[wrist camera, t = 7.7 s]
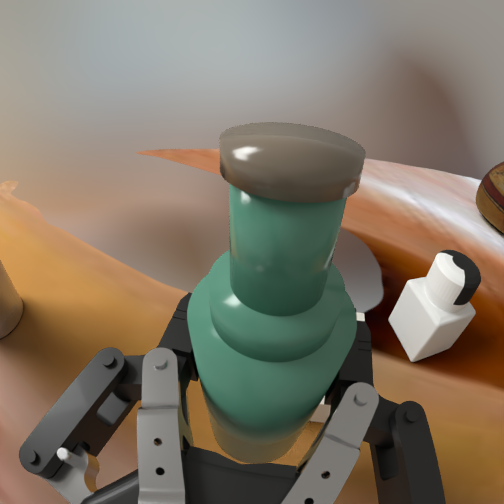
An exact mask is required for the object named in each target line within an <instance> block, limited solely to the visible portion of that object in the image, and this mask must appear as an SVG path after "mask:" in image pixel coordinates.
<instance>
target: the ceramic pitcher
mask: <svg viewBox="0 0 504 504" xmlns="http://www.w3.org/2000/svg"><path fill="white" fill-rule="evenodd" d="M476 205H477V207H478V209H479V211H480V212H481V213H482V215H483V216H484V217H485V218H486V219H487V220H488V221H489V222H490V223H491V224H492V225H494V226H495V227H496V228H497V229H499V230H500V231H501V232H502V233H503V234H504V162H502V163H500V164H498V165H496V166H495V167H494V168H492V169H491V170H490V171H489V172H488V173H487V174H486V175H485V177H484V178H483V180H482V181H481V183H480V185H479V188H478V191H477V195H476Z"/></svg>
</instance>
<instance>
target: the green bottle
mask: <svg viewBox="0 0 504 504" xmlns="http://www.w3.org/2000/svg"><path fill="white" fill-rule="evenodd" d="M364 159H365V150H364V149H363V147H361V145H359V144H358V143H357V142H355V141H353V140H352V139H350V138H348V137H346V136H343V135H341V134H338V133H335V132H332V131H329V130H325V129H321V128H317V127H313V126H307V125H301V124H292V123H276V122H275V123H274V122H267V123H251V124H245V125H239V126H236V127H232V128H230V129H228V130H226V131H224V132H223V133H222V134H221V135H220V173H221V175H222V177H223V178H224V179H225V180H226V181H227V182H228V183H229V231H230V232H229V240H230V241H229V242H230V250H228V251H227V252H226V253H224V254H223V255H221V256H220V257H219V258H218V259H217V261H216V262H215V263H214V265H213V266H212V268H211V270H210V273H209V274H207V275H206V276H205V278H203V279H202V280H201V281H200V283H199V284H198V285H197V286H196V288H195V290H194V291H193V293H192V295H191V298H190V300H189V304H188V309H187V321H188V327H189V332H190V337H191V342H192V347H193V352H194V356H195V361H196V365H197V370H198V374H199V378H200V382H201V387H202V391H203V395H204V399H205V403H206V407H207V410H208V414H209V418H210V422H211V425H212V429H213V433H214V436H215V439H216V441H217V443H218V444H219V446H220V447H221V448H222V450H224V451H225V452H226V453H227V454H228V455H229V456H231V457H233V458H235V459H237V460H239V461H242V462H246V463H252V464H260V463H267V462H271V461H273V460H276V459H278V458H280V457H282V456H283V455H284V454H286V453H287V452H288V451H289V450H290V449H291V447H292V446H293V445H294V443H295V442H296V440H297V439H298V437H299V436H300V434H301V433H302V431H303V430H304V428H305V427H306V425H307V423H308V422H309V420H310V419H311V417H312V416H313V414H314V412H315V411H316V409H317V407H318V406H319V404H320V403H321V401H322V399H323V397H324V396H325V394H326V392H327V391H328V389H329V387H330V385H331V384H332V382H333V380H334V378H335V377H336V375H337V373H338V371H339V369H340V367H341V366H342V364H343V362H344V360H345V358H346V356H347V354H348V352H349V350H350V348H351V346H352V344H353V341H354V339H355V335H356V330H357V318H356V312H355V308H354V305H353V303H352V301H351V299H350V297H349V295H348V294H347V292H346V291H345V285H344V281H343V278H342V276H341V274H340V272H339V271H338V269H337V268H336V267H335V265H334V264H333V263H332V259H333V255H334V251H335V247H336V243H337V239H338V235H339V230H340V226H341V222H342V218H343V213H344V209H345V204H346V199H347V197H349V196H350V195H352V194H354V193H355V192H356V191H357V189H358V188H359V183H360V179H361V174H362V169H363V164H364Z"/></svg>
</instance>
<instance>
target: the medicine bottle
mask: <svg viewBox="0 0 504 504" xmlns="http://www.w3.org/2000/svg"><path fill="white" fill-rule="evenodd" d="M480 282H481V276H480V272H479V269H478V268H477V266H476V265H475V263H474V262H473V261H472V260H471V259H469V258H468V257H467V256H465V255H464V254H462V253H459V252H457V251H453V250H444V251H441V252H439V253H438V254H437V255H436V258H435V260H434V262H433V264H432V266H431V268H430V270H429V272H428V274H427V277H423V278H418V279H412V280H408V281H407V283H406V285H405V287H404V289H403V291H402V293H401V295H400V298H399V300H398V302H397V303H396V305H395V307H394V309H393V311H392V313H391V315H390V317H389V322H390V324H391V326H392V327H393V329H394V331H395V333H396V335H397V336H398V338H399V340H400V342H401V344H402V346H403V348H404V349H405V351H406V353H407V355H408V357H409V359H410V361H411V362H415V361H418V360H420V359H423V358H426V357H429V356H431V355H434V354H436V353H439V352H442V351H444V350H447V349H449V348H450V347H451V346H452V345H453V344H454V342H455V341H456V340H457V338H458V337H459V336H460V334H461V333H462V332H463V330H464V329H465V328H466V326H467V325H468V324H469V322H470V321H471V320H472V318H473V317H474V315H475V313H476V312H475V310H474V308H473V307H472V306H471V304H470V303H469V301H470V299H471V298H472V296H473V294H474V293H475V291H476V289H477V288H478V286H479V284H480Z"/></svg>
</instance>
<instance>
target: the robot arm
mask: <svg viewBox="0 0 504 504" xmlns="http://www.w3.org/2000/svg"><path fill="white" fill-rule="evenodd" d="M191 295H192V293H188V294H187V295H186V296H185V297H183V298H182V299H181V300H180V302H179V304H178V306H177V308H176V311H175V312H174V314H173V316H172V318H171V320H170V322H169V324H168V326H167V328H166V331H165V333H164V335H163V337H162V339H161V341H160V343H159V345H158V346H157V348H155V349H152V350H151V351H149V352H148V353H147V354H146V355H141V356H123V354H122V352H121V351H120V350H118V349H116V348H105V349H102V350H101V351H99V352H98V353H97V354H96V355H95V357H94V358H93V359H92V360H91V361H90V362H89V364H88V365H87V366H86V367H85V368H84V369H83V371H82V372H81V373H80V374H79V375H78V376H77V378H76V379H75V380H74V381H73V382H72V384H71V385H70V386H69V387H68V388H67V390H66V391H65V392H64V393H63V394H62V396H61V397H60V398H59V399H58V400H57V402H56V403H55V404H54V405H53V407H52V408H51V409H50V410H49V411H48V413H47V414H46V415H45V416H44V418H43V419H42V420H41V422H40V423H39V424H38V425H37V427H36V428H35V429H34V430H33V432H32V433H31V434H30V436H29V437H28V438H27V439H26V441H25V442H24V443H23V445H22V446H21V448H20V451H19V458H20V462H21V464H22V466H23V467H24V468H25V469H26V470H27V471H28V472H30V473H33V474H35V475H37V476H39V477H40V478H43V479H45V480H46V481H47V482H48V483H49V484H50V485H51V486H53V487H54V488H55V489H56V490H57V491H58V492H59V493H60V494H61V495H62V496H63V497H64V498H65V499H66V500H67V501H69V502H70V503H71V504H333V503H334V501H335V500H336V498H337V496H338V494H339V493H340V491H341V489H342V487H343V486H344V484H345V482H346V480H347V478H348V476H349V475H350V473H351V471H352V469H353V467H354V465H355V463H356V461H357V459H358V457H359V454H360V449H359V448H360V445H361V442H362V440H363V441H365V442H368V443H369V444H370V450H371V455H372V461H373V467H374V473H375V479H376V486H377V493H378V500H379V504H446V503H445V497H444V491H443V485H442V480H441V475H440V470H439V466H438V461H437V457H436V453H435V448H434V444H433V440H432V436H431V433H430V429H429V425H428V422H427V418H426V415H425V411H424V409H423V408H422V406H421V405H420V404H418V403H416V402H414V401H406V402H403V403H402V404H400V405H399V404H397V403H394V402H391V401H389V400H386V399H384V398H383V397H381V396H380V395H379V394H378V393H377V391H376V390H375V388H374V385H373V369H372V352H371V335H370V330H369V328H368V326H367V324H366V322H365V321H358V320H357V330H356V335H355V339H354V341H353V344H352V346H351V348H350V350H349V352H348V354H347V356H346V358H345V360H344V362H343V364H342V366H341V367H340V369H339V371H338V373H337V375H336V377H335V378H334V380H333V382H332V384H331V385H330V387H329V389H328V391H327V392H326V394H325V399H324V405H331V407H330V414H329V416H328V417H327V419H326V421H325V423H324V424H323V426H322V428H321V430H320V432H319V433H318V435H317V437H316V438H315V440H314V442H313V444H312V445H311V447H310V448H309V450H308V452H307V453H306V454H305V456H304V457H303V459H302V460H301V462H300V463H299V465H298V466H289V465H281V464H274V463H263V464H239V463H236V462H234V461H232V460H230V459H228V458H226V457H224V456H222V455H220V454H218V453H216V452H212V451H208V450H204V449H201V448H197V447H194V444H193V438H192V433H191V428H190V419H189V407H188V395H187V387H188V384H189V382H190V380H193V381H198V378H199V374H198V370H197V365H196V361H195V356H194V352H193V347H192V342H191V337H190V332H189V327H188V321H187V309H188V304H189V300H190V298H191ZM355 312H356V308H355ZM22 313H23V301H22V300H21V298H20V296H19V294H18V293H17V291H16V289H15V287H14V285H13V284H12V282H11V280H10V278H9V276H8V274H7V272H6V270H5V268H4V266H3V264H2V262H1V260H0V338H2V337H4V336H6V335H7V334H9V333H10V332H11V331H12V330H13V329H14V328H15V326H16V325H17V324H18V322H19V320H20V318H21V316H22ZM356 318H357V315H356ZM138 400H142V404H141V407H140V408H139V409H138V412H137V452H138V469H137V470H135V471H133V472H131V473H130V474H128V475H126V476H124V477H122V478H120V479H118V480H117V481H115V482H113V483H111V484H109V485H107V486H105V487H103V488H101V489H99V490H97V488H96V483H95V480H96V476H97V474H98V472H99V462H98V460H97V458H96V457H97V455H98V454H99V453H100V451H101V450H102V449H103V447H104V446H105V444H106V443H107V442H108V440H109V439H110V438H111V436H112V435H113V434H114V432H115V431H116V430H117V428H118V427H119V425H120V424H121V423H122V421H123V420H124V419H125V417H126V416H127V415H128V413H129V412H130V411H131V409H132V408H133V406H134V405H135V404H136V402H137V401H138ZM296 467H297V468H296Z"/></svg>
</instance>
